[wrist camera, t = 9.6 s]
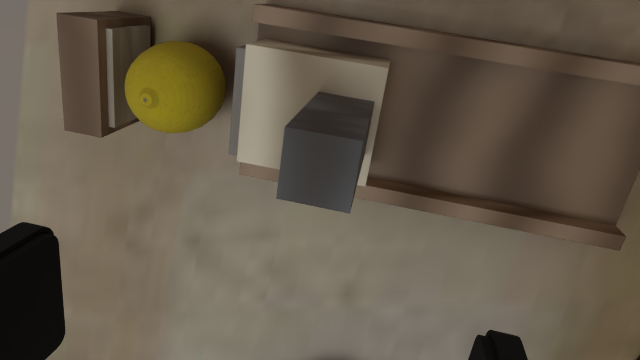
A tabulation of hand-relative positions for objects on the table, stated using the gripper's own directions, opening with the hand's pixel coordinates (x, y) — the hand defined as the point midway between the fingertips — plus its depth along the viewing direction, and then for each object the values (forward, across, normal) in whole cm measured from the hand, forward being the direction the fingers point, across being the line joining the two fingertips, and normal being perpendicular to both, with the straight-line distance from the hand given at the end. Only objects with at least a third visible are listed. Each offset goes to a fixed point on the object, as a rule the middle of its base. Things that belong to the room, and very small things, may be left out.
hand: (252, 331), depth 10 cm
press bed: (+23, -5, 0) cm, 24 cm away
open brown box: (+23, +16, 0) cm, 28 cm away
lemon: (+23, +11, 0) cm, 26 cm away
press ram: (+22, +3, 0) cm, 22 cm away
